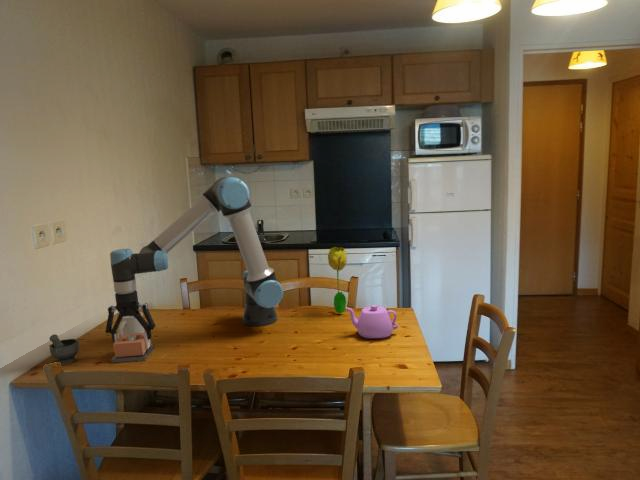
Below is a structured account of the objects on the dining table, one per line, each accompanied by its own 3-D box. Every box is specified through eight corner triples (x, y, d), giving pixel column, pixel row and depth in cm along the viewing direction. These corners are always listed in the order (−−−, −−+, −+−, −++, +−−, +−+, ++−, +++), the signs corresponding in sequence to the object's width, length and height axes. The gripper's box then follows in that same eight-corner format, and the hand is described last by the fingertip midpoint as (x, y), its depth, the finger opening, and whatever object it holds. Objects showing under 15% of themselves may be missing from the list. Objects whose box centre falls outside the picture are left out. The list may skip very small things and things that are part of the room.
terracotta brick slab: (151, 344, 185) (149, 332, 185) (143, 354, 176) (141, 341, 175) (124, 346, 185) (123, 334, 184) (115, 357, 175) (113, 344, 174)
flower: (330, 312, 217) (326, 247, 212) (347, 310, 218) (344, 245, 213) (332, 318, 209) (328, 250, 204) (351, 316, 209) (347, 249, 205)
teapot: (397, 328, 192) (396, 299, 190) (399, 340, 179) (398, 310, 177) (347, 329, 194) (345, 301, 192) (345, 341, 181) (344, 311, 179)
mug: (129, 346, 190) (126, 321, 188) (112, 345, 193) (109, 320, 191) (149, 335, 201) (146, 311, 199) (133, 334, 204) (130, 310, 202)
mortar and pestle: (62, 356, 184) (58, 326, 182) (86, 355, 183) (81, 325, 181) (43, 368, 173) (38, 336, 171) (68, 368, 172) (63, 336, 170)
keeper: (154, 347, 187) (152, 329, 185) (145, 360, 175) (142, 340, 174) (123, 350, 186) (121, 331, 185) (111, 363, 174) (109, 343, 173)
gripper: (160, 286, 181) (166, 342, 184) (98, 290, 180) (106, 347, 183) (154, 291, 173) (161, 350, 177) (89, 296, 172) (98, 355, 176)
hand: (133, 348), depth 180 cm, fingers open, 10 cm apart
